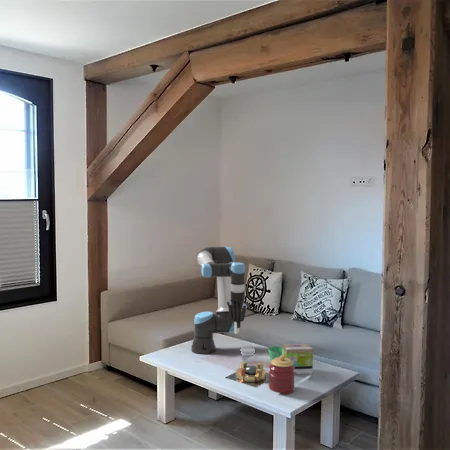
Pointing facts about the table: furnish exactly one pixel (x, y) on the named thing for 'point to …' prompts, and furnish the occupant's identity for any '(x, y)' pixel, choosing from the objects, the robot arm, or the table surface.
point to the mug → (275, 352)
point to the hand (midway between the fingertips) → (236, 332)
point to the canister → (281, 375)
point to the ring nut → (251, 378)
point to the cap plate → (255, 384)
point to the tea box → (299, 357)
